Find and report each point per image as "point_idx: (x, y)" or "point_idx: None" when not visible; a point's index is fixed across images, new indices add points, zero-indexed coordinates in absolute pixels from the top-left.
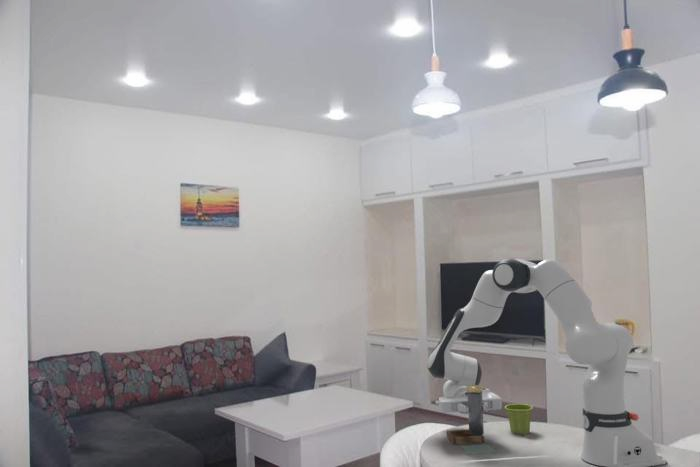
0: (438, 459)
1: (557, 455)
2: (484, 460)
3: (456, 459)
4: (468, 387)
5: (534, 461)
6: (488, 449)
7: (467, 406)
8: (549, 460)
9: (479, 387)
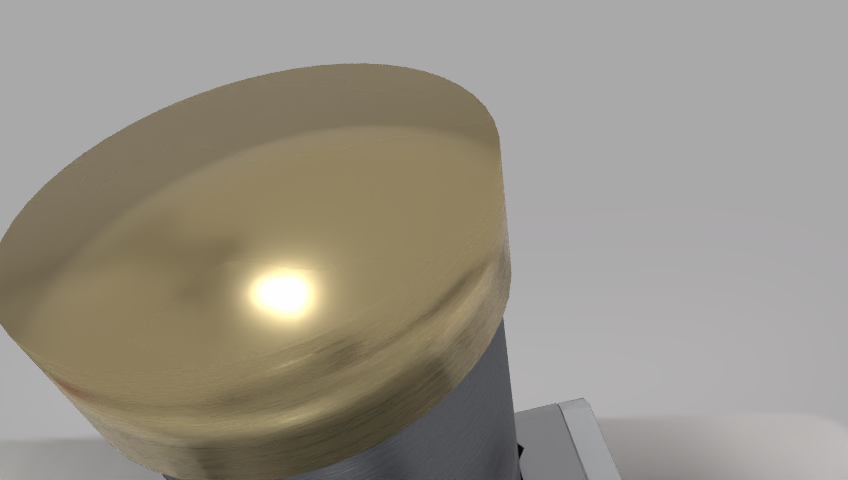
0: (790, 453)
1: None
2: None
3: (645, 457)
4: (454, 83)
5: None
6: None
7: (531, 429)
8: (54, 455)
9: (176, 115)
